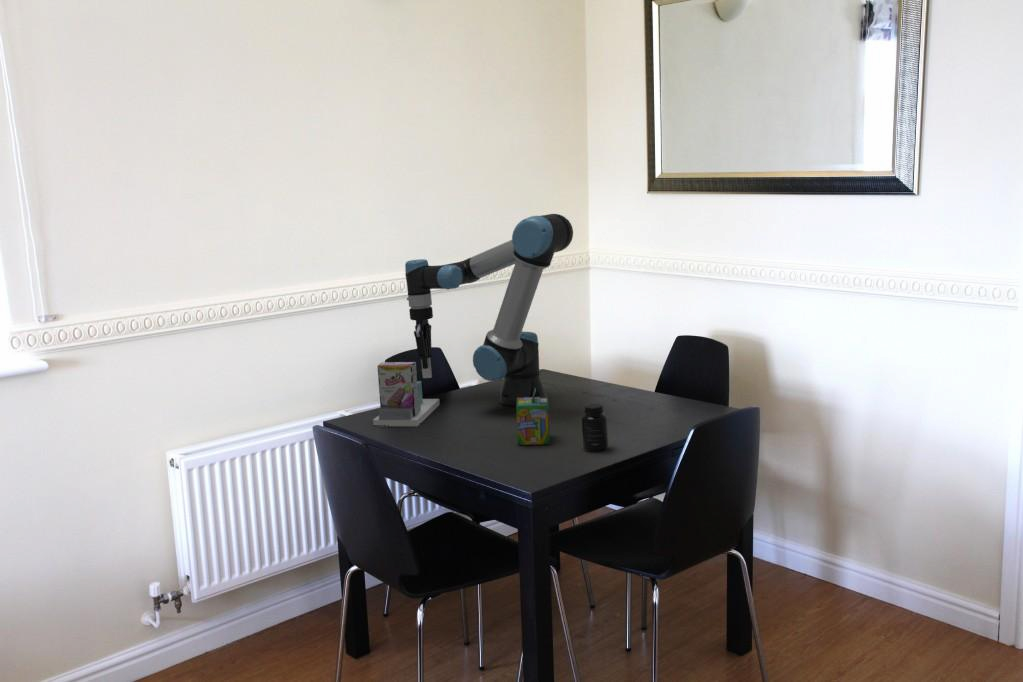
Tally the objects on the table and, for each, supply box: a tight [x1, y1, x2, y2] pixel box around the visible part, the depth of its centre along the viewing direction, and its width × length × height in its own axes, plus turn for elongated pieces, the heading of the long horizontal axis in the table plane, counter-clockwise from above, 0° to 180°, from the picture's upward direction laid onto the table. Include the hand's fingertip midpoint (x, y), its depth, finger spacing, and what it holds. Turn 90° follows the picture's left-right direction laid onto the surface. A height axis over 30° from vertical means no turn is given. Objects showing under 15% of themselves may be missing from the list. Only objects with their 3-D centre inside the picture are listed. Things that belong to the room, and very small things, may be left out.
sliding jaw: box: [417, 380, 424, 411], centre depth 295 cm, size 12×10×7 cm
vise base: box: [372, 398, 441, 427], centre depth 295 cm, size 26×14×6 cm, turn 169°
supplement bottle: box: [581, 403, 609, 453], centre depth 250 cm, size 7×7×12 cm
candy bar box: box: [377, 361, 419, 417], centre depth 286 cm, size 11×5×16 cm, turn 81°
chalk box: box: [515, 388, 551, 446], centre depth 260 cm, size 9×9×15 cm
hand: (427, 377), depth 308 cm, fingers closed
